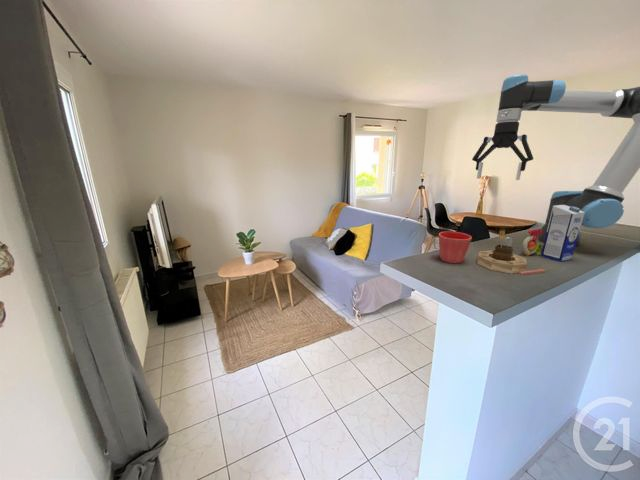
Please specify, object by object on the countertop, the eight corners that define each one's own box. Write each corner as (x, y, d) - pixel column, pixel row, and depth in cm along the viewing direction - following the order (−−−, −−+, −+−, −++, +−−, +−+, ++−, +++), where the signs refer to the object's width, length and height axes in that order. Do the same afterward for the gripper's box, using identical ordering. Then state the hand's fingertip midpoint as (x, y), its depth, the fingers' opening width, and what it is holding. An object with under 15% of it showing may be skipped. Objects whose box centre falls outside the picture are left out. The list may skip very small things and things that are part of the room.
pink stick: (542, 271, 89) (543, 269, 89) (545, 272, 89) (545, 270, 88) (518, 274, 87) (519, 271, 87) (521, 275, 86) (521, 272, 86)
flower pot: (467, 266, 93) (471, 240, 91) (434, 261, 99) (437, 236, 96) (468, 257, 102) (472, 233, 100) (437, 253, 107) (440, 230, 105)
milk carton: (551, 253, 106) (564, 204, 100) (571, 259, 100) (586, 206, 94) (540, 256, 103) (552, 205, 98) (560, 261, 97) (575, 208, 92)
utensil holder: (495, 267, 92) (502, 234, 89) (487, 261, 98) (493, 230, 95) (514, 268, 91) (521, 235, 88) (504, 262, 97) (511, 230, 94)
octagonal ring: (499, 256, 103) (500, 249, 102) (534, 270, 90) (536, 262, 89) (468, 259, 100) (470, 252, 99) (501, 274, 87) (502, 266, 86)
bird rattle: (534, 263, 102) (550, 251, 104) (532, 239, 98) (549, 227, 100) (518, 258, 108) (533, 247, 109) (515, 234, 103) (531, 224, 105)
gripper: (468, 124, 107) (461, 178, 113) (548, 117, 90) (534, 181, 96) (475, 126, 112) (467, 177, 118) (551, 119, 95) (537, 180, 101)
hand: (497, 179), depth 107 cm, fingers open, 13 cm apart
